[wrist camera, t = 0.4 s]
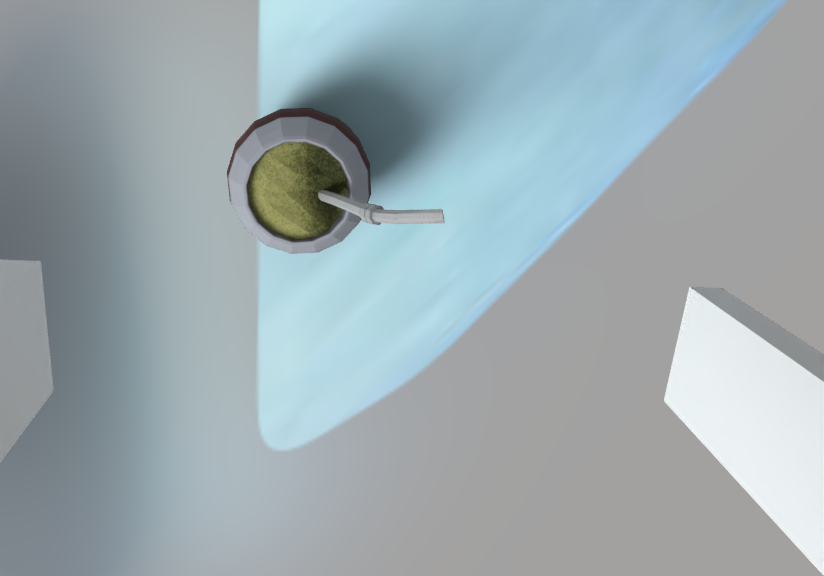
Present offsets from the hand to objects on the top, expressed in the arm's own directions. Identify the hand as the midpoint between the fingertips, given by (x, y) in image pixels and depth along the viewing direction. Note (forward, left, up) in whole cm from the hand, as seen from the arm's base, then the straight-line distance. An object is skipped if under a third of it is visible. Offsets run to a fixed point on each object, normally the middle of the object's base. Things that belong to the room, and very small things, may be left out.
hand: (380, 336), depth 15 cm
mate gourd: (+1, -2, -27) cm, 27 cm away
